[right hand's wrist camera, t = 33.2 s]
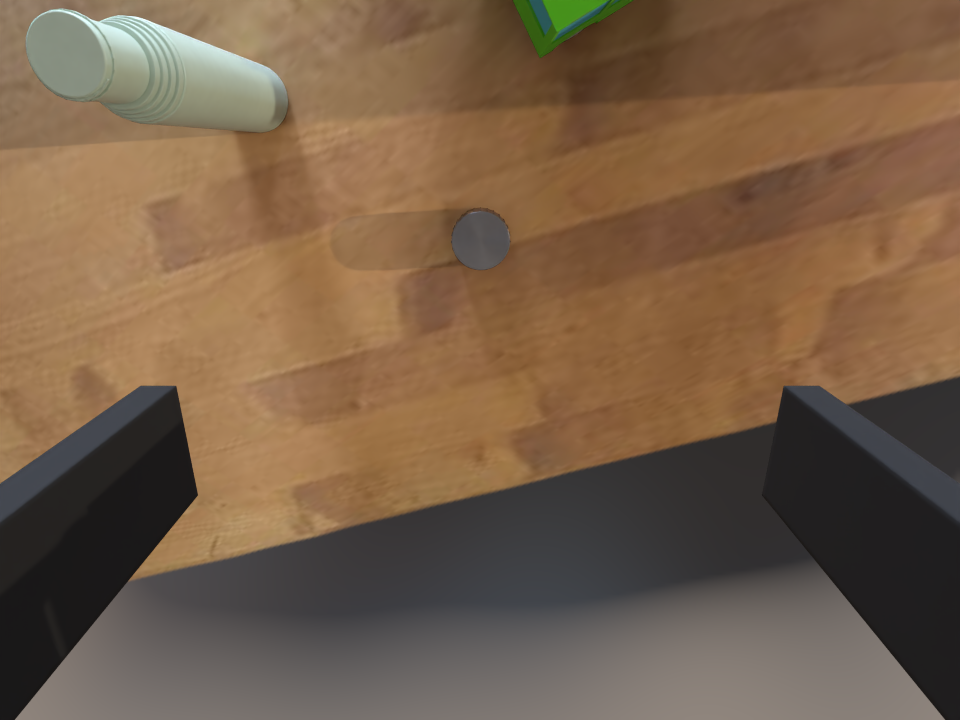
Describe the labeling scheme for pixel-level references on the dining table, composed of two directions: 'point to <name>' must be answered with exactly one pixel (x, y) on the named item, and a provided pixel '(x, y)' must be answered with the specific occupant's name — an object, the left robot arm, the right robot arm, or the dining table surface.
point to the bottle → (153, 73)
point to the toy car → (561, 19)
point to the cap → (480, 239)
